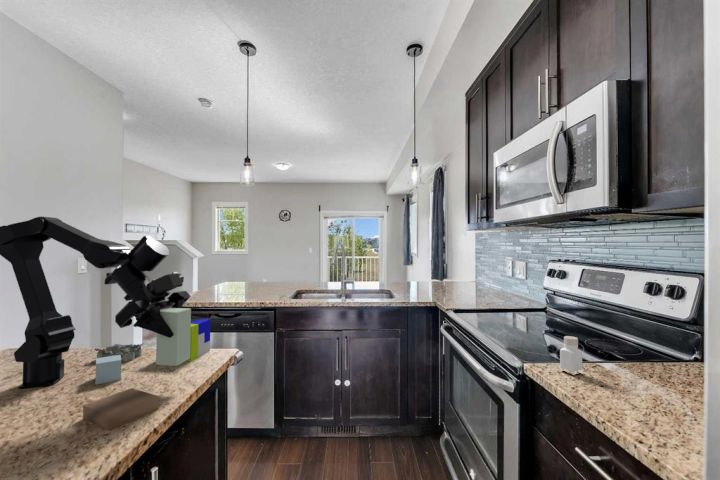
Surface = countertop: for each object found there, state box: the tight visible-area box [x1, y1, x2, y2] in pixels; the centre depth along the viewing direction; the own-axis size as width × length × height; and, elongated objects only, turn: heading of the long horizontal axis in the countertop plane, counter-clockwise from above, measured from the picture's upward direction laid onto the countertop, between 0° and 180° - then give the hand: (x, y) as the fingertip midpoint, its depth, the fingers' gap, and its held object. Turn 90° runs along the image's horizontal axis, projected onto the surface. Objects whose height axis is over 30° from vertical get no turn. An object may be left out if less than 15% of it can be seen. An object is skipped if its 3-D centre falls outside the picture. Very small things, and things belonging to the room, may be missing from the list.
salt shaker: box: [559, 335, 583, 372], centre depth 91 cm, size 4×4×10 cm
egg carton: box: [94, 343, 144, 363], centre depth 100 cm, size 11×8×4 cm
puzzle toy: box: [185, 318, 211, 362], centre depth 103 cm, size 10×10×10 cm
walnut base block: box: [82, 387, 160, 431], centre depth 67 cm, size 9×9×3 cm
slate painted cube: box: [94, 355, 122, 385], centre depth 84 cm, size 5×5×5 cm
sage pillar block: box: [155, 307, 192, 367], centre depth 79 cm, size 5×5×12 cm
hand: (179, 333), depth 79 cm, fingers closed on sage pillar block, 5 cm apart
